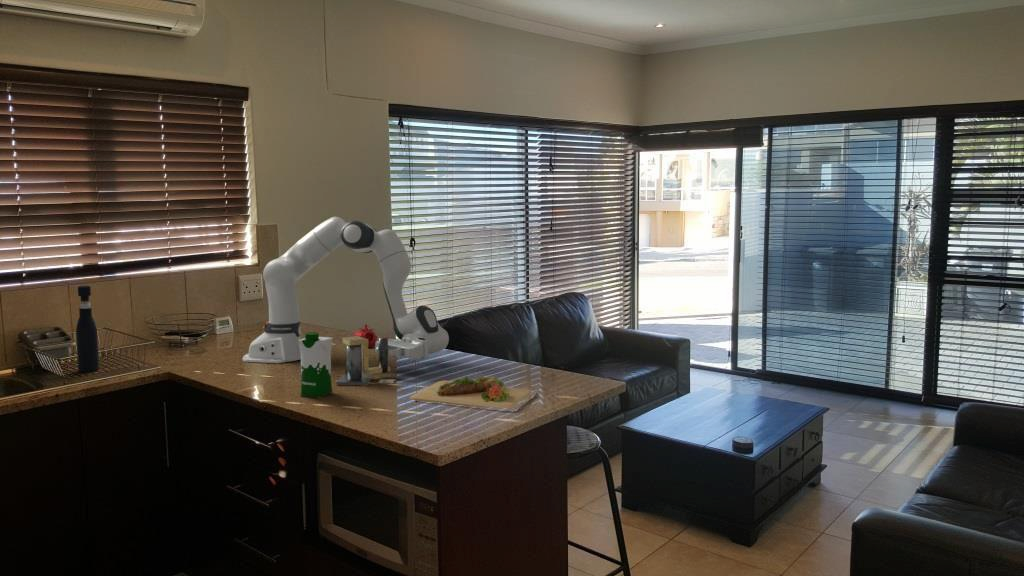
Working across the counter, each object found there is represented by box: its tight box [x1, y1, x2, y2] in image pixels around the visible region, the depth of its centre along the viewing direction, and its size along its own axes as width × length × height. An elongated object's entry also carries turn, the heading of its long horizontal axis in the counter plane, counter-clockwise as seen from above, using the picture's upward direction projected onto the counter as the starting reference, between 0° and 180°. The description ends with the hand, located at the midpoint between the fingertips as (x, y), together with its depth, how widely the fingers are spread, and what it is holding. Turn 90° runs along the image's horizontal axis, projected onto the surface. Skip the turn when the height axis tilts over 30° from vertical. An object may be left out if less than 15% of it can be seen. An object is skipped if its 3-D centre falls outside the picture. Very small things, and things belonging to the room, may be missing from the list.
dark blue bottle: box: [75, 285, 100, 373], centre depth 263 cm, size 6×6×30 cm
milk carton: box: [299, 331, 334, 398], centre depth 236 cm, size 9×9×20 cm
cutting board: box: [410, 375, 532, 408], centre depth 237 cm, size 35×23×8 cm
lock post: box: [336, 344, 396, 386], centre depth 257 cm, size 18×18×13 cm
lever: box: [342, 335, 391, 375], centre depth 256 cm, size 16×6×13 cm, turn 127°
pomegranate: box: [353, 324, 378, 348], centre depth 313 cm, size 10×10×9 cm
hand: (381, 351), depth 260 cm, fingers open, 5 cm apart
